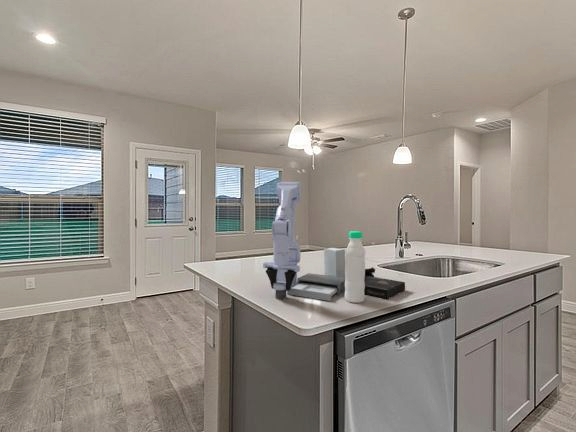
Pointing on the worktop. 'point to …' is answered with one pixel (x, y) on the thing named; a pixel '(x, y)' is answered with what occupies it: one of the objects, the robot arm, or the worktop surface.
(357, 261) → the water bottle
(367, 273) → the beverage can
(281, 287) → the disc
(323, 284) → the housing
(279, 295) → the dark grey cylinder
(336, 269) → the skincare box
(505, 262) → the worktop surface
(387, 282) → the portable cd player
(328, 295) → the tray
